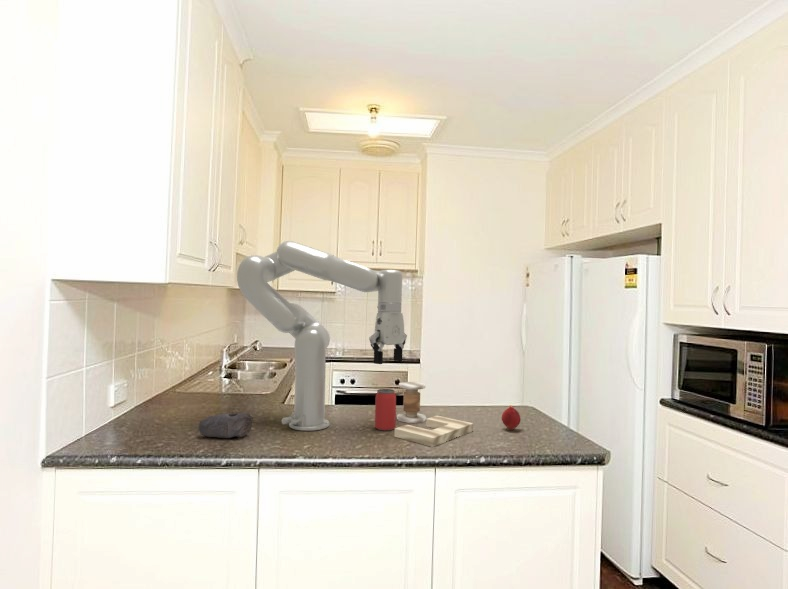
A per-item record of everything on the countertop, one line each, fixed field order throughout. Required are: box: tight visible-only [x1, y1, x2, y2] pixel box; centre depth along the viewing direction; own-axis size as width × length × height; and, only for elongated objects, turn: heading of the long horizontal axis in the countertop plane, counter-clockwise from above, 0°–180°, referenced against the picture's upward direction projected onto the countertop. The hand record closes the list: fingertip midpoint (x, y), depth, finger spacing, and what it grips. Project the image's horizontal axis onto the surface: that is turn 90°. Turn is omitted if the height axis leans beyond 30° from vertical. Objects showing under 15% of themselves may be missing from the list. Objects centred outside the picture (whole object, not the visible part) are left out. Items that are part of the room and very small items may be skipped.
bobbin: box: [396, 381, 427, 424], centre depth 165 cm, size 10×10×12 cm
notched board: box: [394, 415, 474, 448], centre depth 148 cm, size 22×14×2 cm, turn 140°
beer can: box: [374, 388, 397, 432], centre depth 153 cm, size 7×7×12 cm
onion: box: [501, 404, 521, 431], centre depth 155 cm, size 6×6×8 cm
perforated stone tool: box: [197, 412, 253, 439], centre depth 139 cm, size 15×5×7 cm, turn 91°
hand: (388, 362), depth 154 cm, fingers open, 9 cm apart
